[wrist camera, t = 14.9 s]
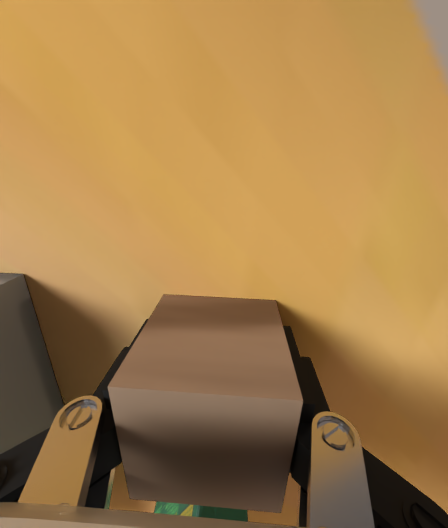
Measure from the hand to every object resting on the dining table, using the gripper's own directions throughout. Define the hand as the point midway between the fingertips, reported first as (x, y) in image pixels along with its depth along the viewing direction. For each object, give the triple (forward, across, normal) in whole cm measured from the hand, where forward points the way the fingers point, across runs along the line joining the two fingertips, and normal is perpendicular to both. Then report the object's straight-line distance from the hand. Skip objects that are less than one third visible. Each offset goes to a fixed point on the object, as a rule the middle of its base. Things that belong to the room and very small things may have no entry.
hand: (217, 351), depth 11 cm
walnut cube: (+1, 0, 0) cm, 1 cm away
